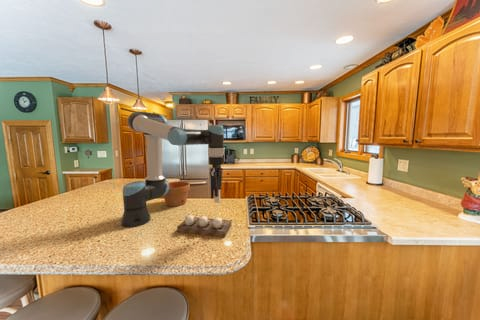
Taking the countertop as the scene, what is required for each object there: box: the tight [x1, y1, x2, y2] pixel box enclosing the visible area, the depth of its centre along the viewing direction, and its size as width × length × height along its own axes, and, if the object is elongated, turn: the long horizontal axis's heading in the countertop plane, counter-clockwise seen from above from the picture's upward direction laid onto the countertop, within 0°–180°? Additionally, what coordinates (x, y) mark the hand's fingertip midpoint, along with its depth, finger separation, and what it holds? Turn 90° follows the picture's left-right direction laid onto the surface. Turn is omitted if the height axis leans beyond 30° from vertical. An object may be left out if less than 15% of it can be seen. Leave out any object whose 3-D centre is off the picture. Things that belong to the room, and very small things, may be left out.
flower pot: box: [163, 181, 191, 207], centre depth 144 cm, size 21×21×15 cm
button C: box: [212, 216, 223, 228], centre depth 99 cm, size 4×4×4 cm
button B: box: [198, 215, 208, 227], centre depth 100 cm, size 4×4×4 cm
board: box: [176, 216, 232, 238], centre depth 103 cm, size 26×13×3 cm, turn 78°
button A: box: [184, 214, 195, 226], centre depth 102 cm, size 4×4×4 cm
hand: (217, 201), depth 97 cm, fingers closed
